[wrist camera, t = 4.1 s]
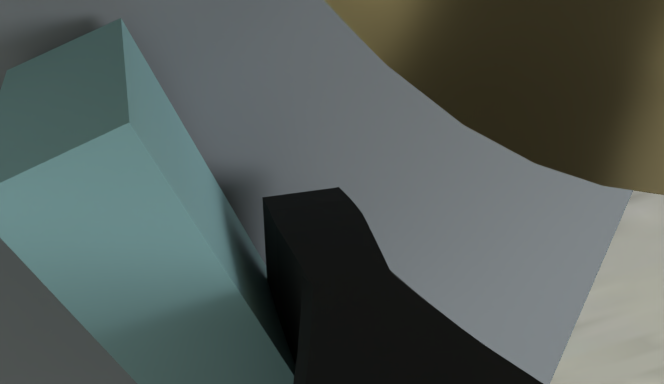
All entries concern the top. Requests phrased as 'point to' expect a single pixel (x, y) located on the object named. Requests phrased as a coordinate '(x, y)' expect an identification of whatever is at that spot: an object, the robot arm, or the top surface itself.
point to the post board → (329, 174)
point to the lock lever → (132, 219)
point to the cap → (536, 76)
